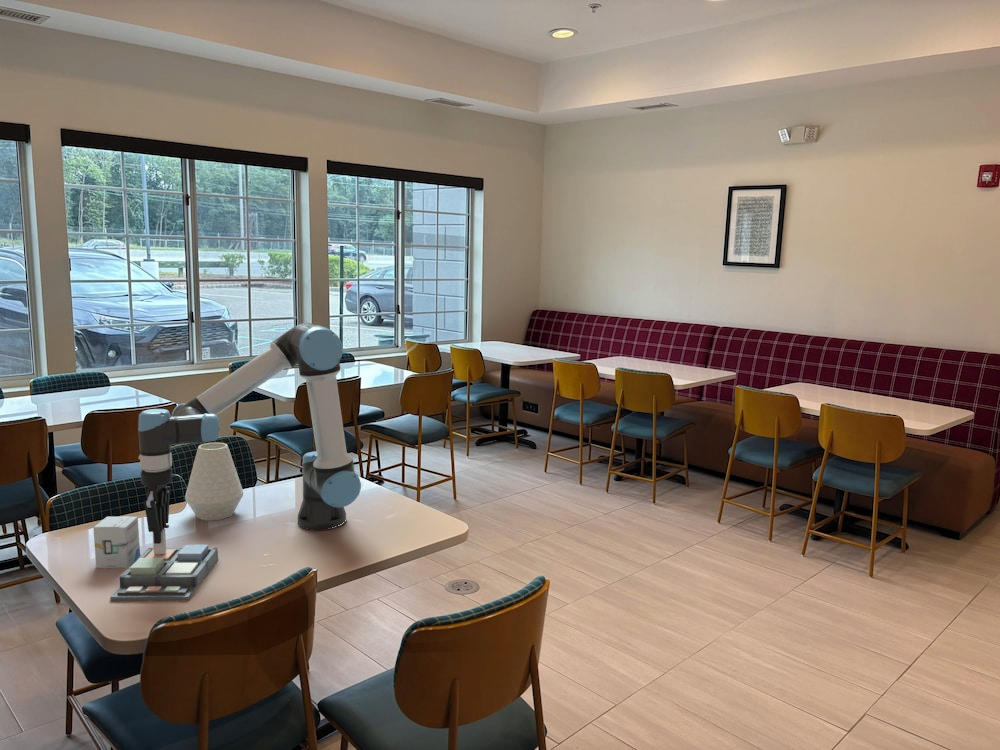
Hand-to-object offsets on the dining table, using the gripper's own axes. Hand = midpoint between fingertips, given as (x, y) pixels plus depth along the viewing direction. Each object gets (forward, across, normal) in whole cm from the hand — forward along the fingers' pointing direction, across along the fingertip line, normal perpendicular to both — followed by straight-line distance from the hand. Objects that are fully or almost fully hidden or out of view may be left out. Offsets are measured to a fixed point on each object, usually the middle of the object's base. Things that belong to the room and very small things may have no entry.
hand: (159, 552), depth 195 cm
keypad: (+4, +7, +4) cm, 9 cm away
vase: (+4, -40, +2) cm, 40 cm away
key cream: (+3, +9, +9) cm, 13 cm away
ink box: (+5, -4, -13) cm, 14 cm away
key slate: (+1, 0, +9) cm, 9 cm away
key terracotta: (+3, 0, 0) cm, 3 cm away
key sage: (+1, +9, 0) cm, 9 cm away
